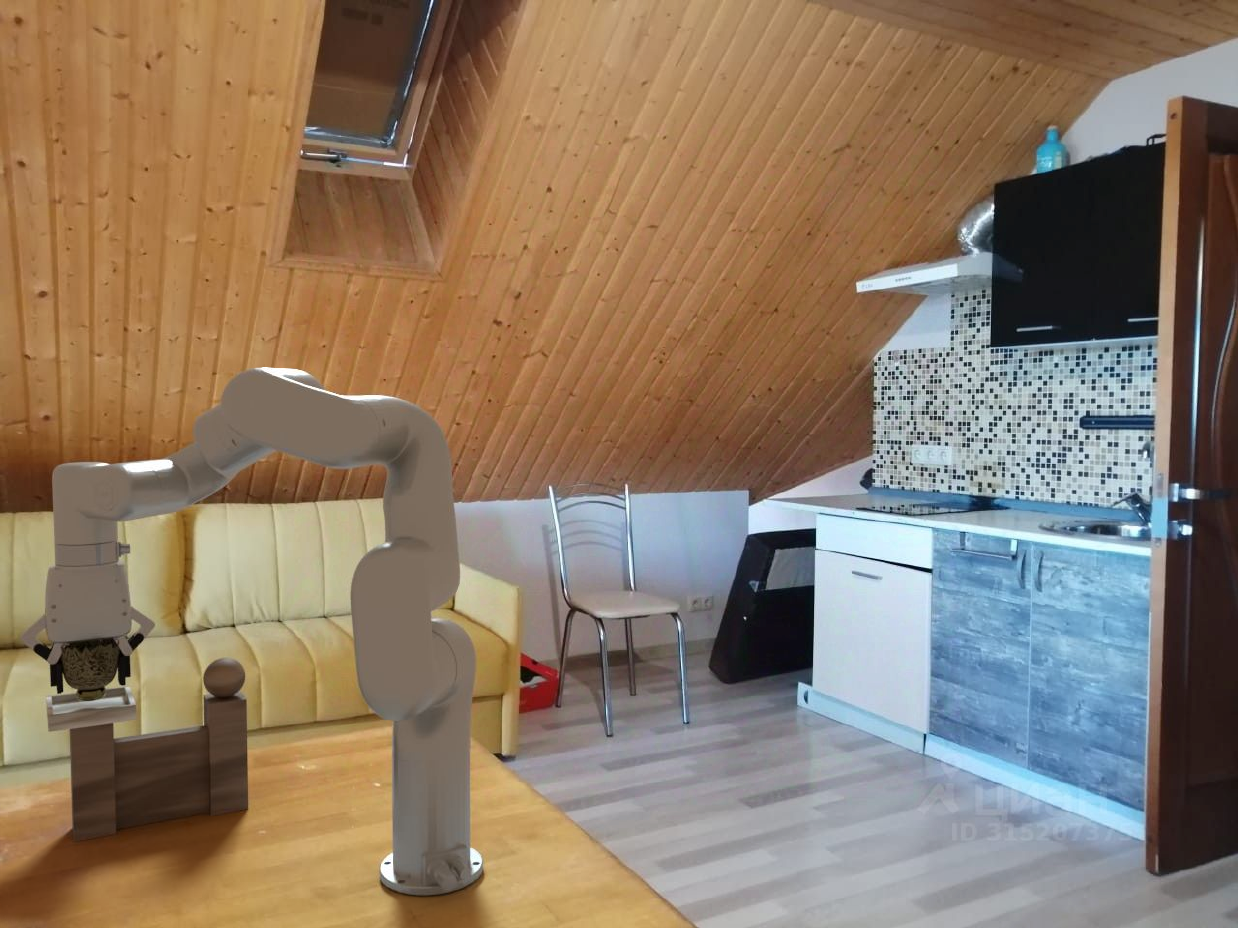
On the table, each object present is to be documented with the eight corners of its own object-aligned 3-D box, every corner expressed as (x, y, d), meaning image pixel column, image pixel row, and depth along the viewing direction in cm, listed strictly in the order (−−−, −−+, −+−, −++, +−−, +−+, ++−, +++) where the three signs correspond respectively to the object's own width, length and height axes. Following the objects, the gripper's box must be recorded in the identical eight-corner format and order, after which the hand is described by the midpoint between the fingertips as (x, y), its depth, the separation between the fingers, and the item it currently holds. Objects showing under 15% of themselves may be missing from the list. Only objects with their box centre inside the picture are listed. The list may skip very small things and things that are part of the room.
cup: (96, 708, 133) (94, 647, 132) (46, 705, 134) (44, 644, 133) (134, 692, 140) (132, 635, 139) (87, 689, 141) (85, 632, 141)
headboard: (254, 814, 144) (251, 664, 142) (52, 853, 131) (47, 688, 130) (240, 790, 153) (238, 648, 151) (50, 824, 140) (45, 669, 139)
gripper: (155, 546, 143) (158, 671, 144) (11, 556, 134) (16, 689, 136) (161, 554, 137) (165, 684, 138) (10, 564, 128) (16, 704, 129)
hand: (91, 686), depth 137 cm, fingers closed on cup, 6 cm apart
